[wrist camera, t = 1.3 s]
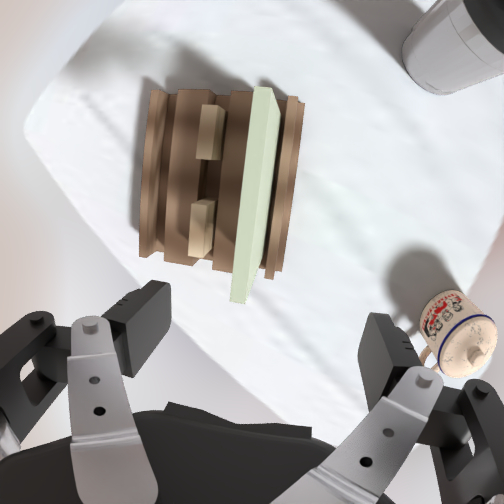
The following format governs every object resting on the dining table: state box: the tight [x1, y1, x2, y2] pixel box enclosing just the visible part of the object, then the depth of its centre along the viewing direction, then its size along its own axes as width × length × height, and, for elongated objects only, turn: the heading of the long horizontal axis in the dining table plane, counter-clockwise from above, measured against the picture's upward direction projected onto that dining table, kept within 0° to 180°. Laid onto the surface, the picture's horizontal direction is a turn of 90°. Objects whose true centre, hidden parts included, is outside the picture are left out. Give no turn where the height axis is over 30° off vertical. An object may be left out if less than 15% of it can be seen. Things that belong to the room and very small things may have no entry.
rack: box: [139, 89, 305, 280], centre depth 35 cm, size 20×18×4 cm
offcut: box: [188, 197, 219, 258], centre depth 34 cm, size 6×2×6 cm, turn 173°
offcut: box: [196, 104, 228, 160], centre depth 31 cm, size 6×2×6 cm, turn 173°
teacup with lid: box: [419, 290, 497, 378], centre depth 32 cm, size 12×9×12 cm
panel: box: [230, 86, 282, 304], centre depth 28 cm, size 16×1×14 cm, turn 173°
